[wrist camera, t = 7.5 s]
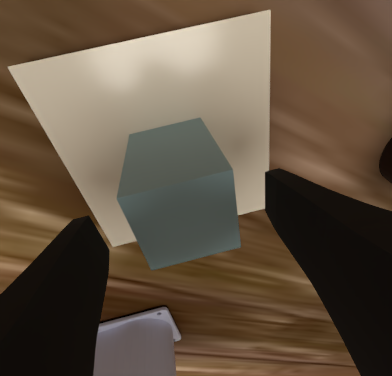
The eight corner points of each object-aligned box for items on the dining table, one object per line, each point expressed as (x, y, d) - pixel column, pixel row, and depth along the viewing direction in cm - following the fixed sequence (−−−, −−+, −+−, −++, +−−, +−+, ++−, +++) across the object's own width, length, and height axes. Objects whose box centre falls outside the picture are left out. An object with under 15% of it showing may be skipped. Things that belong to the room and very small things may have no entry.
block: (150, 192, 15) (151, 270, 10) (129, 134, 12) (116, 198, 8) (210, 177, 15) (240, 247, 10) (200, 117, 13) (233, 169, 8)
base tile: (116, 228, 18) (112, 246, 17) (27, 62, 12) (7, 66, 10) (258, 192, 19) (268, 207, 17) (254, 13, 12) (270, 9, 10)
